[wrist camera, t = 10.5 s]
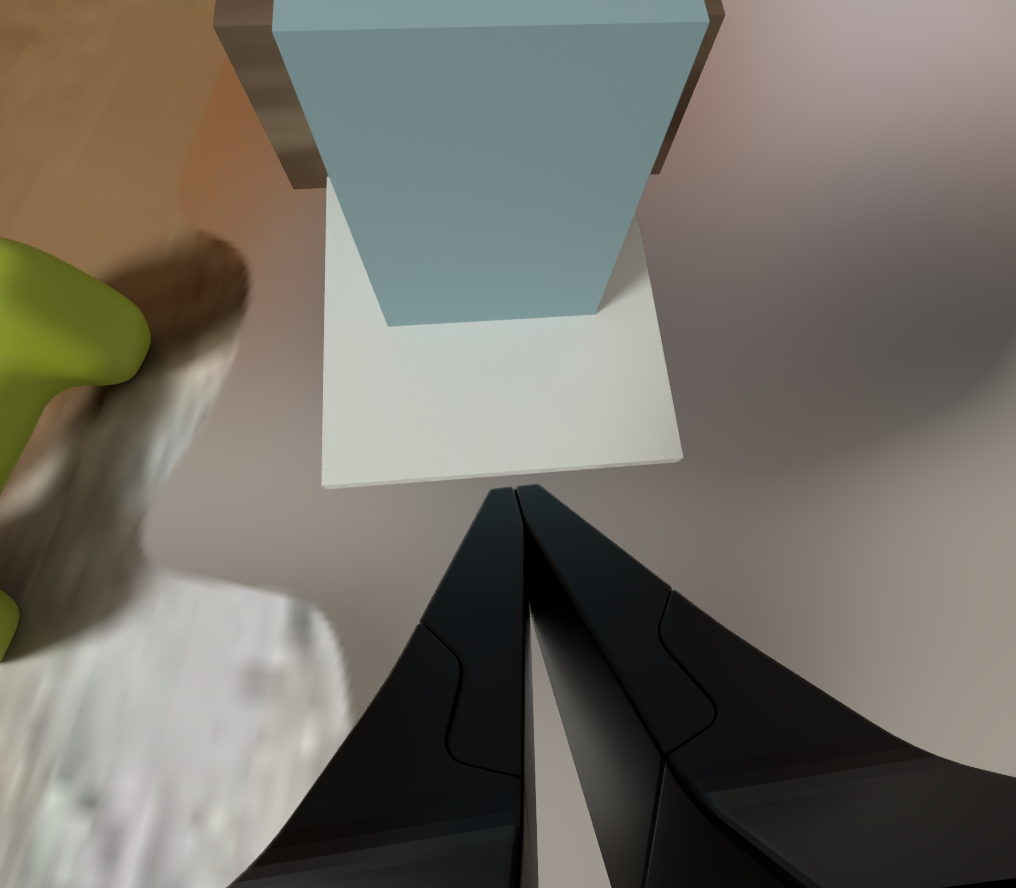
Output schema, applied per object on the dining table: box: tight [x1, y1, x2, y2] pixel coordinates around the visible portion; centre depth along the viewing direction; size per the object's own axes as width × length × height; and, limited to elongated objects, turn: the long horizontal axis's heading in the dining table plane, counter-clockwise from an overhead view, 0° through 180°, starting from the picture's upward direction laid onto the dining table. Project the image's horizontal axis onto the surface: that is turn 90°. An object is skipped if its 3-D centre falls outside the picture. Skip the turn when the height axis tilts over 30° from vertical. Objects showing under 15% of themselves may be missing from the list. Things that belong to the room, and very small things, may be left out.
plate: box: [322, 177, 683, 489], centre depth 24 cm, size 16×16×1 cm
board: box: [213, 0, 725, 189], centre depth 23 cm, size 2×20×8 cm, turn 95°
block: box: [272, 0, 710, 327], centre depth 19 cm, size 9×10×13 cm
